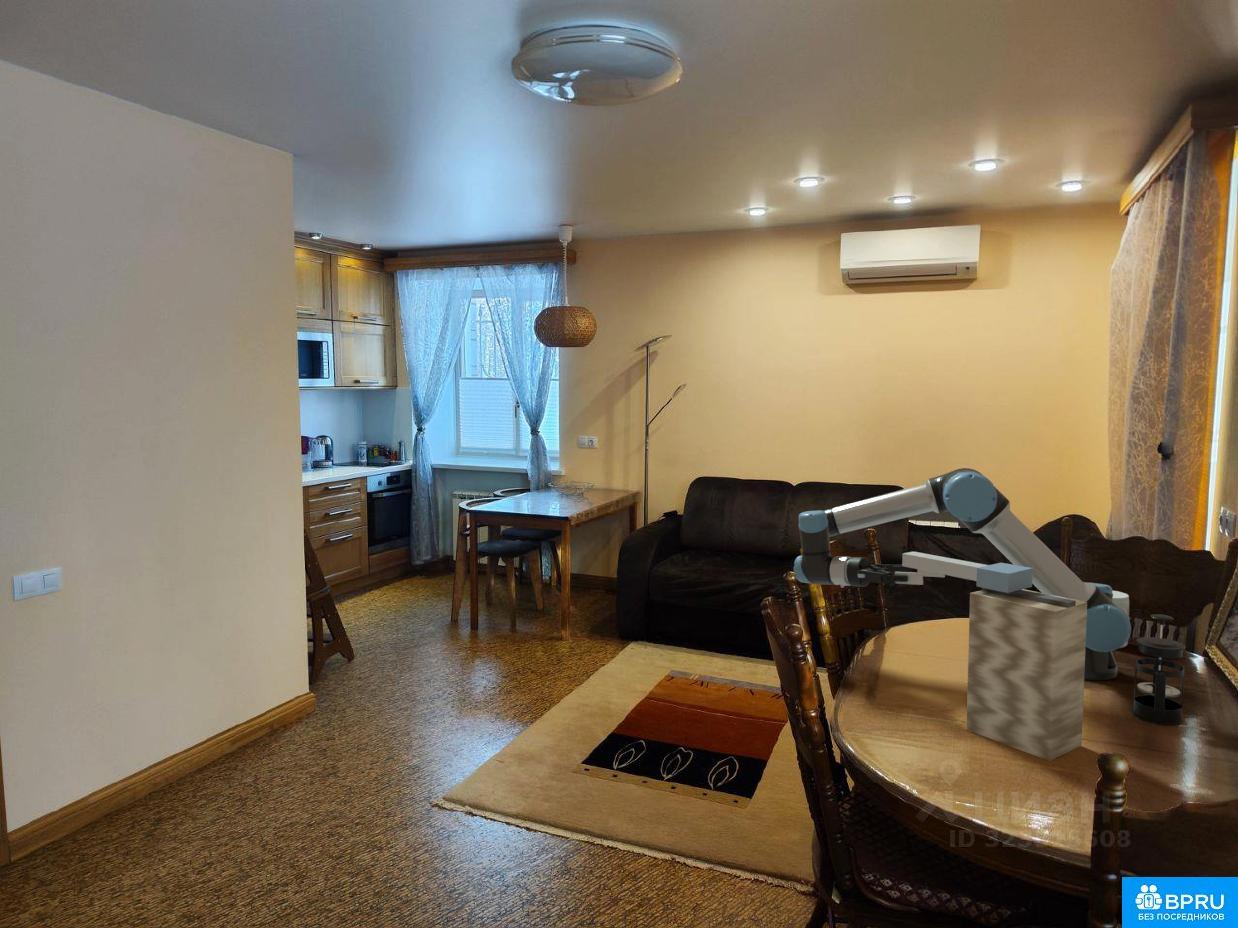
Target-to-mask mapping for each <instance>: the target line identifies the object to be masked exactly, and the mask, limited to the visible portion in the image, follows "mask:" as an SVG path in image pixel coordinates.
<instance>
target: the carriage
mask: <svg viewBox="0 0 1238 928" xmlns="http://www.w3.org/2000/svg"><path fill="white" fill-rule="evenodd" d="M901 557H902V560H901V561H902V563H901V564H902V566H905V567H909V568H914V570H915V569H919V570H924V571H929V572H934V573H939V574H944V575H945V576H950V577H954V578H959V579H964V580H968V581H974V582H976V587H978V588H981V589H982V588H986V589H991V590H996V591H1001V592H1005V593H1010V592H1014V591H1018V590H1022V589H1024V590H1026V589H1029V588H1033V583H1032V574H1033V568H1029V567H1023V566H1018V565H1013V564H1012V563H1004V562H998V563H993V564H984V563H977V562H973V561H968V560H962V559H958V558H957V559H956V558H951V557H946V556H939V555H933V554H929V553H924V552H918V551H909V552H904V553H902V556H901Z"/></svg>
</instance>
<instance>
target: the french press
mask: <svg viewBox="0 0 1238 928" xmlns="http://www.w3.org/2000/svg"><path fill="white" fill-rule="evenodd" d="M1150 618H1152V619H1155V620H1158V624H1159V625H1160V627H1159V628H1160V629H1159V630H1160V631H1159V637H1157V636H1155V637H1154V636H1142V637H1138V638H1136V643H1137V644H1138V651H1139V652H1140V653H1141V654H1145V655H1147V656H1151V657H1141V658H1137V659H1135V663H1134V664H1135V667H1134V668H1135V669H1134V688H1133V689H1134V690H1133V709H1132V710H1131V713H1132V716H1133V717H1136V718H1137V719H1138V720H1142V721H1143V722H1147V723H1151V724H1155V725H1159V726H1171V727H1172V726H1179V725H1182V724H1183V723H1184V719H1183V707H1184V706H1183V705H1184V704H1183V703H1184V687H1185V686H1184V685H1185V684H1184V683H1185V667H1184V665H1182V664H1180V663H1178V662H1175V661H1173V660H1172V661H1171V660H1168V659H1180V658H1183V656H1184V655H1183V653H1184V650H1186V648H1187V647H1186V645H1185V644H1184V643H1182V642H1180V641H1176V640H1174V639H1171V638H1170V639H1169V638H1165V637H1163V627H1164V626H1165V621H1173V620H1174V618H1173V617H1172V616H1169V615H1167V614H1166V615H1165V614H1160V613H1158V614H1157V613H1156V614H1151V615H1150ZM1154 657H1155V658H1154ZM1145 665H1153V668H1151V667H1146V666H1145ZM1164 667H1168V668H1173V669H1175V670H1176V671H1175V670H1174V671H1173V670H1172V671H1171V670H1164ZM1138 671H1140V672H1142V673H1144V674H1148V675H1151V676H1152V682H1145V681H1144V682H1139V683H1138V682H1137V676H1138V675H1137V673H1138ZM1167 678H1181V690H1180V689H1179V688H1176V687H1174V686H1172V685H1168V684H1167ZM1137 691H1138V692H1139V693H1142V694H1141V695H1137ZM1179 698H1180V702H1178V701H1176V700H1174V699H1179Z"/></svg>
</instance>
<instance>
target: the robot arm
mask: <svg viewBox="0 0 1238 928" xmlns="http://www.w3.org/2000/svg"><path fill="white" fill-rule="evenodd" d="M930 512H934V513H936V514H941V513H946V512H949V513H950V514H951V515H952V516H953V517H955V518H957V519H958V520H960V523H962V524H964V526H965V527H966V529H967V528H968V530H969V531H970V532H971V533H972V534H973V533H974V534H982V535H983V536H984V537H985V538H986V539H987V540H988V541H989V542H990V543H991V544H992V545H994V547H995V549H997V550H998V551H999V552H1000V553H1001V554H1002V555H1003V556H1004V557H1005V558H1006V559H1007V560H1009V562H1010V564H1012V565H1018V566H1023V567H1029V568H1033V574H1032V585H1034V587H1035V588H1036V589H1037V590H1039V592H1040V593H1044V594H1049V595H1054V596H1059V597H1064V598H1069V599H1074V600H1079V601H1084V602H1087V621H1086V646H1085V672H1084V680H1090V681H1106V680H1107V681H1108V680H1112V679H1115V678H1117V676H1118V665H1117V664H1118V663H1117V661H1116V659H1115V656H1114V653H1113V651H1116V650H1118V649H1121V648H1120V647H1122V646H1123V645H1124V644H1125V643H1126V642H1127V640H1128V641H1129V639H1130V637H1131V632H1132V626H1131V622H1130V619H1128V616H1127V615H1126V613H1125V612H1124V611H1123V610H1121V609H1120V608H1118V607H1117V606H1116V605H1115V604H1114V603H1113V602H1112V597H1113V593H1112V591H1113V588H1112V587H1111V586H1110V585H1109V584H1103V583H1097V582H1096V583H1095V582H1085V581H1082V580H1081V579H1080V578H1079V577H1078V576H1077V575H1076V573H1074V572H1073V570H1071V569H1070V568H1069V567H1068V566H1067V565H1066V564H1065V563H1064V562H1063V561H1062V560H1061V559H1060V558H1059V557H1058V556H1057V555H1056V554H1055V553H1054V552H1053V550H1051V549H1050V548H1049V547H1048V546H1047V545H1046V544H1045V543H1044V542H1043V541H1042V540H1041V539H1040V538H1039V537H1038V536H1037V535H1036V534H1035V533H1033V531H1032V530H1031V529H1030V528H1029V527H1027V525H1025V524H1024V523H1023V522H1022V521H1021V520H1020V519H1019V518H1018V517H1017V516H1016V515H1015V514H1014V513H1013V512H1012V511H1011V501H1010V499H1008V498H1007V497H1006V496H1005V495H1004V494H1003V493H1001V491H1000V490H999V489H998V488H997V487H996V486H995V485H994V484H993V482H992V481H991V480H990V479H989V478H987V477H986V476H985V475H983V473H981V472H980V471H978V470H976V469H973V468H968V467H966V468H965V467H962V468H957V469H954V470H951V471H949V472H946V473H944V474H941V475H938V476H934V477H931V478H928V479H926V481H925V482H924V483H922V484H920V485H919V484H918V485H915V486H911V487H907V488H904V489H899V490H896V491H892V492H888V493H884V494H881V495H880V494H879V495H877V496H873V497H870V498H865V499H863V500H858V501H854V502H851V503H846V504H843V505H839V506H838V505H837V506H835V507H833V508H827V509H824V510H822V509H821V510H820V509H819V510H818V509H817V510H807V511H803V512H800V513H799V514H798V530H799V538H800V547H801V555H799V556H796V558H795V560H794V563H793V565H794V566H793V572H794V573H796V577H795V578H796V580H797V581H798V582H800V583H805V584H811V585H832V586H834V585H835V586H840V588H845V586H847V587H849V586H853V587H862V588H864V587H867V586H868V585H869V584H870V583H876V584H882V585H885V586H886V585H888V586H889V587H895V584H898V585H902V584H903V585H915V586H916V585H917V586H920V585H921V586H922V585H924V577H930V578H931V577H932V578H933V577H934V578H945V577H946V575H944V574H939V573H934V572H929V571H924V570H919V569H914V568H909V567H905V566H902V563H901V564H883V563H874V564H871V562H870V561H869V559H868V558H867V557H864V556H863V557H862V556H861V557H860V556H853V557H852V556H843V555H842V556H839V555H836V556H832V555H831V552H832V551H831V543H830V537H834V536H838V535H841V534H844V533H848V532H853V531H857V530H861V529H865V528H868V527H874V526H877V525H881V524H885V523H889V522H893V521H898V520H901V519H906V518H911V517H914V516H919V515H922V514H925V513H930ZM794 573H793V574H794Z"/></svg>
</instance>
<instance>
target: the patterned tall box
mask: <svg viewBox="0 0 1238 928" xmlns="http://www.w3.org/2000/svg"><path fill="white" fill-rule="evenodd" d="M968 619H969V621H968V624H969V625H968V657H967V658H968V660H967V662H968V663H967V691H966V693H967V698H966V699H967V700H966V731H969V732H971V733H974V734H977V735H980V736H982V737H985V738H988V739H990V740H993V741H995V742H998V743H1001V744H1003V745H1007V746H1009V747H1012V748H1014V749H1017V750H1019V751H1022V752H1024V753H1027V754H1031V755H1033V756H1036V757H1038V758H1041V759H1043V760H1047V761H1049V762H1051V761H1053V760H1055V759H1057V758H1059V757H1062V756H1064V755H1066V754H1068V753H1070V752H1072V751H1074V750H1075V749H1078V748H1080V747H1081V746H1083V745H1082V744H1083V722H1084V721H1083V719H1084V717H1083V715H1084V693H1085V679H1084V672H1085V646H1086V621H1087V602H1084V601H1079V600H1074V599H1069V598H1064V597H1059V596H1054V595H1049V594H1044V593H1042V592H1040V591H1035V590H1034V591H1033V590H1029V589H1022V590H1018V591H1014V592H1010V593H1005V592H1001V591H996V590H991V589H986V588H982V587H981V590H977V591H973V592H972V591H971V592H970V593H969V617H968Z"/></svg>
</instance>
